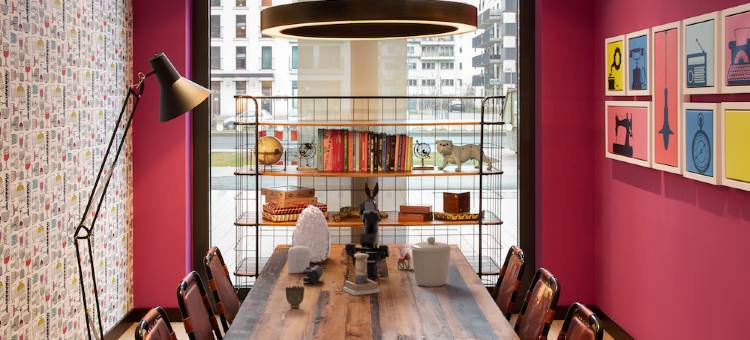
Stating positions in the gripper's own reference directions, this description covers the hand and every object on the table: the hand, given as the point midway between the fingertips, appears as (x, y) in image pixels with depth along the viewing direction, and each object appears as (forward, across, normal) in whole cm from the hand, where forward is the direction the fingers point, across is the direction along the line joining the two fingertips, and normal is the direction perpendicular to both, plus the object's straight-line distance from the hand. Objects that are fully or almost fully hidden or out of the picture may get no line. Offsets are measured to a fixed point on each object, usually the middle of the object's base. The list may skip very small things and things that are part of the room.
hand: (364, 266), depth 370 cm
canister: (-3, +27, +16) cm, 31 cm away
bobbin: (+10, 0, +1) cm, 10 cm away
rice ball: (-31, -40, +46) cm, 68 cm away
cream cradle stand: (+11, 0, +2) cm, 11 cm away
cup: (+35, -18, -22) cm, 45 cm away
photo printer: (-11, -37, +25) cm, 46 cm away
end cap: (+3, -24, +11) cm, 27 cm away
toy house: (-23, +8, +38) cm, 45 cm away
